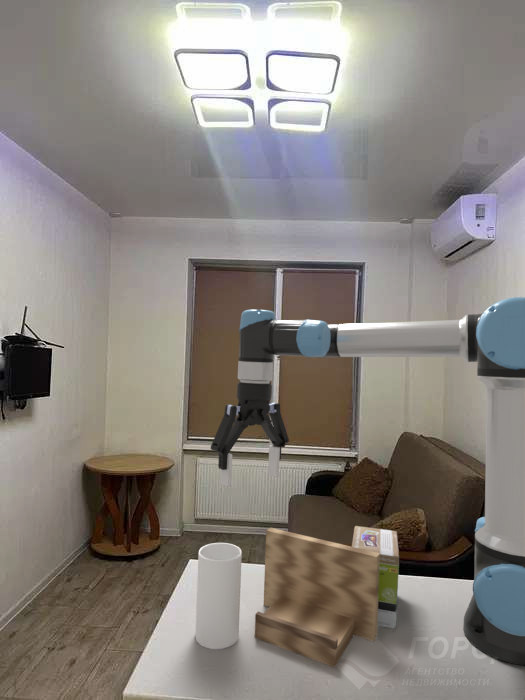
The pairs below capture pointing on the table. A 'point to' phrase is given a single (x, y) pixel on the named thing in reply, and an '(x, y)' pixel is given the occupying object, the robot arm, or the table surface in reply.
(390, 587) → the tea box
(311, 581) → the board
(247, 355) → the robot arm
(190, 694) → the table surface
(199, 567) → the cup
